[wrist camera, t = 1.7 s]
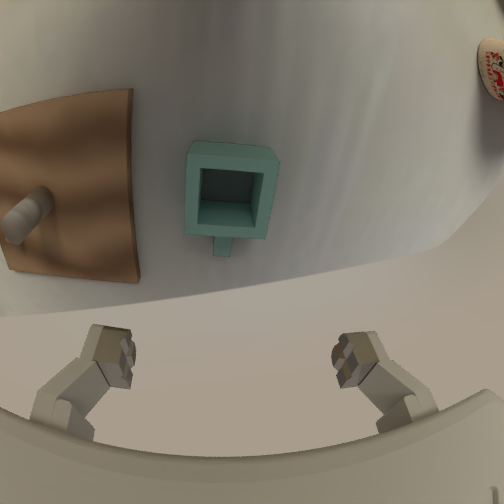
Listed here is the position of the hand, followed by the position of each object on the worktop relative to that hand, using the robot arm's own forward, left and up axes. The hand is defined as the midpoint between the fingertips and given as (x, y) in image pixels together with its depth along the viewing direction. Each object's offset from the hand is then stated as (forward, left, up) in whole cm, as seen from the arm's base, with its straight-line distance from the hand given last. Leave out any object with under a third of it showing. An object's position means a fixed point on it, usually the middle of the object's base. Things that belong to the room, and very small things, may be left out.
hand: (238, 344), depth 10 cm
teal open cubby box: (+2, 0, -17) cm, 17 cm away
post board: (+2, -19, -17) cm, 26 cm away
